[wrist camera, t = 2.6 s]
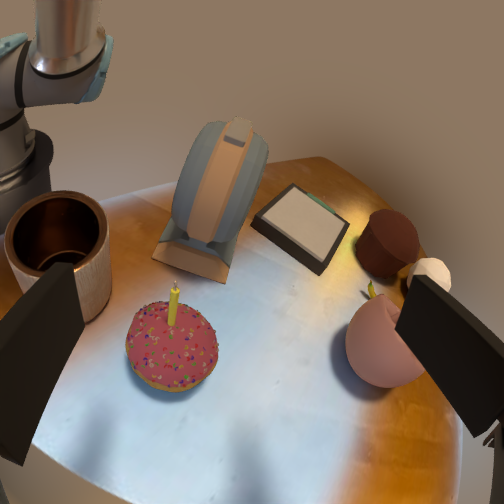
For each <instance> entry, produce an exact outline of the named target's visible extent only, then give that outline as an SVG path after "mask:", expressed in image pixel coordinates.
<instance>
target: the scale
mask: <svg viewBox="0 0 504 504" xmlns="http://www.w3.org/2000/svg"><path fill="white" fill-rule="evenodd" d="M349 225H350V223H348V222H347V221H346V220H344V219H343V218H342V217H340V216H339V215H338V214H336V213H335V211H334V210H333V209H331V208H330V207H329V206H327V205H326V204H324V203H323V202H322V201H320V200H319V199H317V198H316V197H315V196H313V195H312V194H310V193H307V192H306V191H304V190H303V189H301V188H300V187H298V186H297V185H295V184H294V183H292V184H291V185H289V186H288V187H287V188H286V189H285V190H284V191H282V192H281V193H280V194H279V195H278V196H277V197H275V198H274V199H273V200H272V201H271V202H270V203H268V204H267V205H266V206H265V207H264V208H263V209H262V210H260V211H259V212H258V213H257V214H256V215H255V217H254V219H253V221H252V223H251V226H252V227H253V228H255V229H256V230H257V231H259V232H260V233H261V234H263V235H264V236H266V237H267V238H268V239H270V240H271V241H272V242H274V243H275V244H276V245H278V246H279V247H281V248H282V249H283V250H285V251H286V252H287V253H289V254H290V255H291V256H293V257H294V258H296V259H297V260H298V261H300V262H301V263H302V264H304V265H305V266H306V267H308V268H309V269H310V270H312V271H313V272H314V273H316V274H317V275H318V276H320V275H321V273H322V272H323V271H324V270H325V269H326V268H327V266H328V265H329V263H330V261H331V259H332V257H333V255H334V254H335V252H336V250H337V248H338V246H339V244H340V242H341V241H342V239H343V237H344V235H345V233H346V231H347V229H348V227H349Z"/></svg>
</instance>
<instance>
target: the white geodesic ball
mask: <svg viewBox="0 0 504 504" xmlns="http://www.w3.org/2000/svg"><path fill="white" fill-rule="evenodd" d="M413 275H427V276H428V277H430V278H431V279H432V280H433V281H435V282H436V283H437V284H438V285H439V286H441V287H442V288H443V289H444V290H446V291H447V292H449V289H450V287H451V281H450V272H449V270H448V269H447V267H446V266H445V265H444V263H443V262H442V261H440V260H438V259H436V258H422V259H420V260H419V261H418V262H416V263H415V264H414V265H413V266H412V267H411V268H410V271H409V274H408V278H407V286H408V289H409V287H410V283H411V280H412V277H413Z"/></svg>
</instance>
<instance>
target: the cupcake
mask: <svg viewBox="0 0 504 504" xmlns="http://www.w3.org/2000/svg"><path fill="white" fill-rule="evenodd" d="M179 292H180V290H179V288H177V281H176V280H175V281H174V287H173V288H171V293H170V302H163V301H159V302H157V303H156V302H155V303H152V304H149V305H148V306H146V305H144V306H146V307H144V306H143V309H142V308H141V309H140V311H139V312H137V313H136V314H135V316H134V318H133V321H132V324H131V326H130V329H129V331H128V334H127V338H126V344H125V346H126V352H127V355H128V358H129V360H130V363H131V366H132V369H133V370H134V372H135V373H136V374H137V375H138V376H139V377H141V378H142V379H143V380H144V381H145V382H146V383H147V384H149V385H150V386H151V387H153V388H156V389H159V390H164V391H168V392H182V391H186V390H188V389H191V388H193V387H194V386H196V385H197V384H199V383H200V382H201V381H202V380H204V379H205V378H206V377H207V376H208V375H210V374H211V372H212V371H213V369H214V368H215V366H216V364H217V360H218V351H219V349H218V346H219V344H218V343H217V339H216V335H215V333H216V331H215V330H213V328H212V327H211V325H210V323H209V322H208V321H207V320H206V319H205V318H204V317H203V316H202V315H201V313H200V312H198V310H197V311H196V310H194V309H193V308H191V307H189V306H188V305H185V304H181V303H178V298H179Z"/></svg>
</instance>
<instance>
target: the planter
mask: <svg viewBox="0 0 504 504" xmlns="http://www.w3.org/2000/svg"><path fill="white" fill-rule="evenodd" d="M4 249H5V253H6V256H7V258H8V261H9V263H10V265H11V268H12V270H13V272H14V274H15V277H16V279H17V281H18V283H19V286H20V288H21V290H22V292H23V294H25V293H26V292H27V290H28V289H29V288H30V287H31V286H32V285H33V284H34V283H35V282H36V281H37V280H38V279H39V278H40V277H41V276H42V275H43V274H44V273H45V272H46V271H47V270H48V269H49V268H50V267H51V266H52V265H53V264H54V263H55V262H62V263H73V269H74V275H75V280H76V286H77V291H78V296H79V301H80V306H81V310H82V314H83V319H84V323H85V322H88V321H89V320H91V319H92V318H94V317H95V316H96V315H97V314H98V313H99V312H100V311H101V310H102V309H103V308H104V306H105V304H106V303H107V301H108V298H109V296H110V292H111V286H112V276H111V263H110V247H109V223H108V218H107V215H106V213H105V211H104V210H103V208H102V207H101V205H100V204H99V203H98V202H96V201H95V200H94V199H92V198H90V197H89V196H87V195H85V194H82V193H79V192H75V191H66V190H63V191H52V192H48V193H44V194H41V195H39V196H37V197H35V198H33V199H31V200H29V201H28V202H26V203H25V204H24V205H22V206H21V207H20V208H19V209H18V210H17V211H16V212H15V214H14V215H13V216H12V218H11V219H10V221H9V223H8V225H7V228H6V231H5V235H4Z"/></svg>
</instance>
